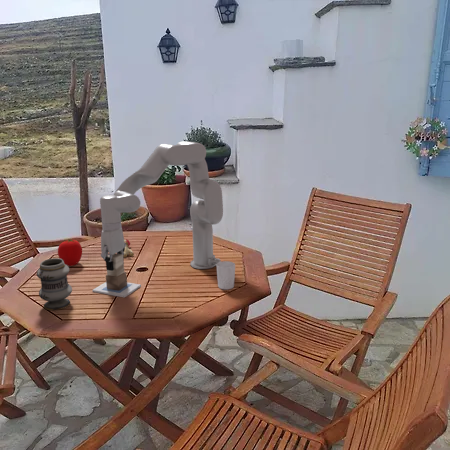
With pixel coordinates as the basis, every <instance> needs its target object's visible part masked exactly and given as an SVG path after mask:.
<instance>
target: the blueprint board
mask: <svg viewBox="0 0 450 450" xmlns="http://www.w3.org/2000/svg"><path fill="white" fill-rule="evenodd" d="M141 287H142V284H138V283H133V282H128V281H127V286H125V287H124V288H122V289H121V290H119V291H117V290H112V289H107V284H106V281H105V282H104V283H102V284H100V285H99V286H97V287H95V288H93V289H92V293H98V294H103V295H109V296H114V297H120V298H126V297H128V296H130V295H131V294H132V293H134V292H136V291H137V290H138V289H140V288H141Z"/></svg>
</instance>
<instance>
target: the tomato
mask: <svg viewBox="0 0 450 450" xmlns="http://www.w3.org/2000/svg"><path fill="white" fill-rule="evenodd" d="M82 255H83V247H82V245H81V243H80V242H79V241H77V240H76V239H67V240H65V241H63V242H61V243H60V244H59V245H58V248H57V256H58V258H60V259H63V261H64V264H66V265H67V266H68V267H73V266H77V265H78V264H79V263H80V261H81V259H82Z"/></svg>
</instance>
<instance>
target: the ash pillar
mask: <svg viewBox="0 0 450 450" xmlns="http://www.w3.org/2000/svg"><path fill="white" fill-rule="evenodd" d="M108 257H110V255H108ZM123 258H124V257H123V255H122V254H117V253H115V254H113V257H112V261H113V268H114V270H113V271H110V270H107V269H106V275H110V276H116V277H118V276H119V275H121V274H123V273H124V272H125V261H123Z"/></svg>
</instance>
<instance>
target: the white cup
mask: <svg viewBox="0 0 450 450" xmlns="http://www.w3.org/2000/svg"><path fill="white" fill-rule="evenodd" d="M215 267H216V277H217V279H216V280H217V287H218V289H220V290H232V289H233V288H234V286H235V277H236V264H235V262H233V261H227V260H224V261H221V262H219V263H217V264H216V266H215Z"/></svg>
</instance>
